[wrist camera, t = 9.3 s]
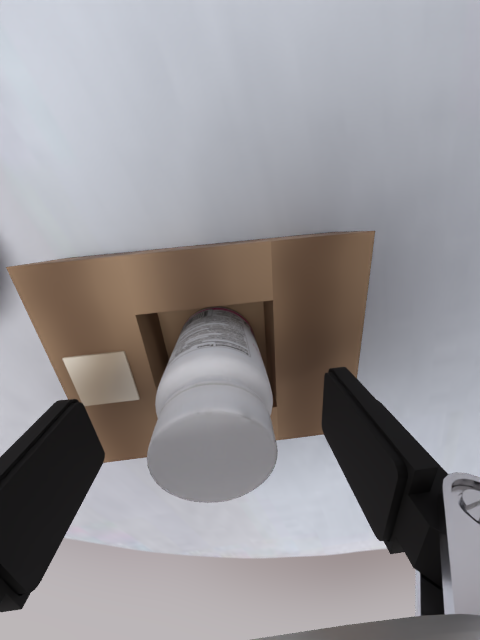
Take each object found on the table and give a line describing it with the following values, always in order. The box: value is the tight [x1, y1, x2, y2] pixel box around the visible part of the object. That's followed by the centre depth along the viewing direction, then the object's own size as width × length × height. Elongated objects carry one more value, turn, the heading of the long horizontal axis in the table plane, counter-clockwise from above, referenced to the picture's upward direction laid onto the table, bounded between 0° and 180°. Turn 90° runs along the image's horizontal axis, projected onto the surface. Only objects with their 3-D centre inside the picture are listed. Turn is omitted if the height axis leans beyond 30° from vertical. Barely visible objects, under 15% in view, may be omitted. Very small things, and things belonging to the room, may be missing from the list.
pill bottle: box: [147, 307, 277, 503], centre depth 11 cm, size 5×5×8 cm
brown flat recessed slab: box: [6, 231, 375, 463], centre depth 14 cm, size 16×12×4 cm
